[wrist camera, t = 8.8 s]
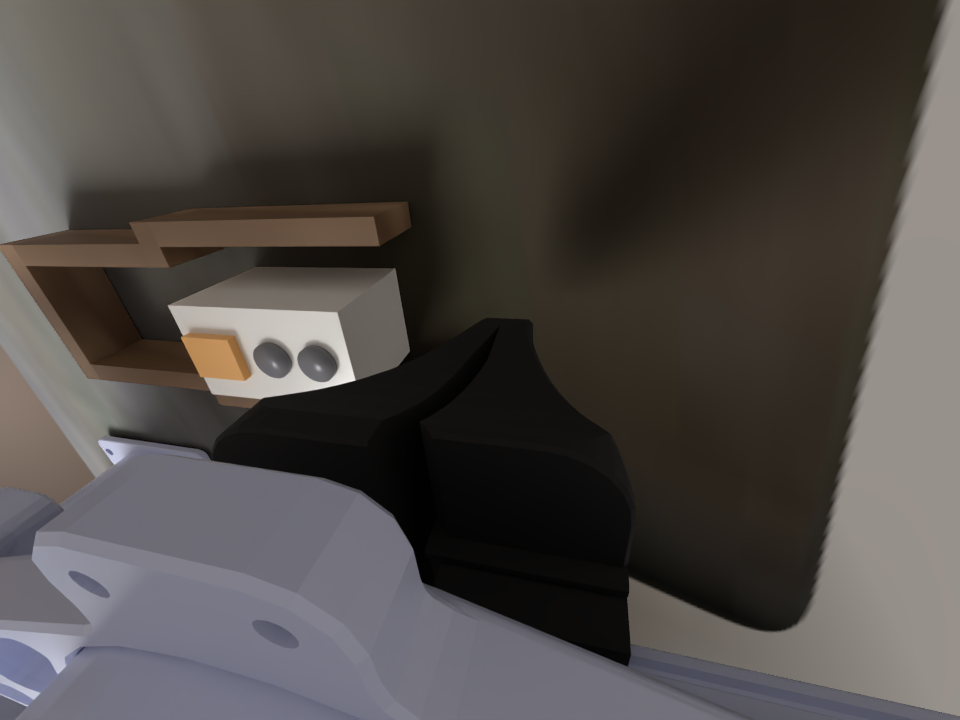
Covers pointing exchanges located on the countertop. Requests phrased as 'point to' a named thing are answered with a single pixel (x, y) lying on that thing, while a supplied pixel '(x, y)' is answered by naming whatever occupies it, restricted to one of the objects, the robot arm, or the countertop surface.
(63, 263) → the brown wooden frame
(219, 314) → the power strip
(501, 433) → the robot arm
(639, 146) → the countertop surface
